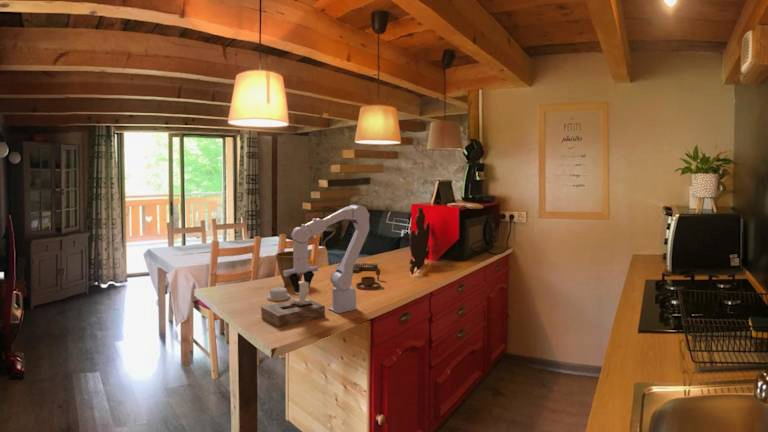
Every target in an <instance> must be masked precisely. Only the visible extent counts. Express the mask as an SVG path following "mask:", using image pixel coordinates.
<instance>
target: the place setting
mask: <svg viewBox="0 0 768 432" xmlns="http://www.w3.org/2000/svg"><path fill="white" fill-rule="evenodd" d="M375 275H376V277H374V276H363V277H361V278H360V282H357V283H356V284H355V286H356V288H357V289H359V290H365V291H367V290H368V291H369V290H370V291H371V290H373V292H374V291H378V290H384V289H385V287H384V286H382V287H381V283H380V282H377V281H380V275H381V269H378V268H377V269H375Z"/></svg>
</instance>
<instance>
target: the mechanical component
mask: <svg viewBox="0 0 768 432" xmlns="http://www.w3.org/2000/svg"><path fill="white" fill-rule="evenodd" d="M290 298H291V295H290V294H289V293H288V290H287V288H286V287H273V288H271V289H269V294H268V295H267V300H268V301H271V302H282V301H286V300H289V299H290Z"/></svg>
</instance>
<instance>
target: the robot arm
mask: <svg viewBox="0 0 768 432" xmlns="http://www.w3.org/2000/svg"><path fill="white" fill-rule="evenodd" d="M370 216H371V215H370V212H369V211H368V209H367V207H365V206H363V205H357V204H354V203H353V204H349V206H345V207H343V208H340V209H339V210H337V211H336V212H334V213H331V214H329V215H328V216H326V217H325V218H322V219H321V218H315V217H314V218H312V219H311V220H312V221H309V222H306V224H305V223H302V224H301V226H297V227H295V228H293V230H292V232H291V234H290V236H291V239H292V242H293V243H292V245H293V246H292V251H293V259H294V268H293V269H289V270H285V271H283V276H288V277H289V278H290V280H291V282H292V285H293V286H292V287H293V291H294V293H295V292H296V293H298V291H299V286H298V284H299V276H298V275H297V274H301V273H303V275H302V277H303V281H306V282H309V288H310V286H311V283H312V281H313V278H314V276H315V273H314V272H319V266H318V265H311V266H309V254H308V253H309V245H308V242H309V239H311V238H313V237H315V236H317V235H320V233H323V232H325V231H326V228H327V227H328V226H331V225H333V224H335V223H338V222H340V221H342V220H350V221H351V222H352V224H353V226H354V228H355V230H354V233H353V235H352V238H351V239H350V242H349V244H348V247H347V249H346V251H345V253H344V255H343V257H342V260H341V262H340V264H338V265H337V267H336V269H335V270H334V271H333V272H332V273H331V275H330V280H329V281H330V282H331V284H332V287H331V290H332V294H331V295H332V307H328V310H330V311H332V312H334V313H337V314H342V313H347V312H351V311H354V310H357V309H358V307H357V292H356V289H355V288H354V287H352V281H353V280H352V279H353V275H354V266H355V264H356V262H357V259H358V257H359V255H360V252H361V251H362V248H363V246H364V243H365V241H366V239H367V236H368V235H369V231H370ZM296 293H295V294H296Z"/></svg>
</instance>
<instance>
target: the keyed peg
mask: <svg viewBox="0 0 768 432" xmlns="http://www.w3.org/2000/svg"><path fill="white" fill-rule="evenodd" d="M298 286H299V291H298V293H296V292H294V293H295V294H296V295H298V298H297V299H293V300H294V303H295V304H298V305H304V304H309V303H311V300H312V299H310V298H308V297H307V296H306V295H309V294H310V287H309V282H306V281H304V280H301V281H299V284H298ZM307 298H308V299H307ZM309 299H310V300H309Z"/></svg>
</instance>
